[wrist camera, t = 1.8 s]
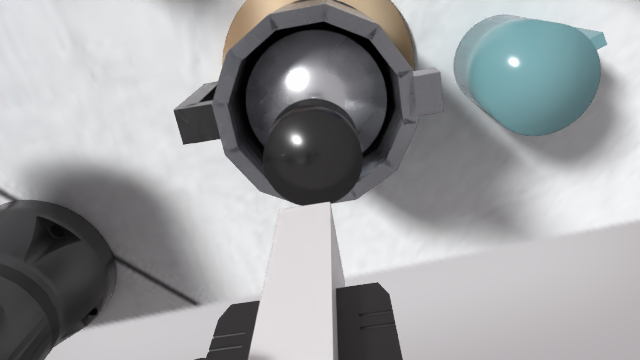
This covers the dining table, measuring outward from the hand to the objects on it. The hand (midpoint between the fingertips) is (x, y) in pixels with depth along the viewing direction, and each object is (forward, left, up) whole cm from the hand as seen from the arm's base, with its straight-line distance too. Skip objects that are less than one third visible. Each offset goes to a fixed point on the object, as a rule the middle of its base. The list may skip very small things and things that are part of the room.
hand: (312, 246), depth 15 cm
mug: (+16, -2, -32) cm, 36 cm away
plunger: (0, 0, -20) cm, 20 cm away
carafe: (0, 0, -31) cm, 31 cm away
